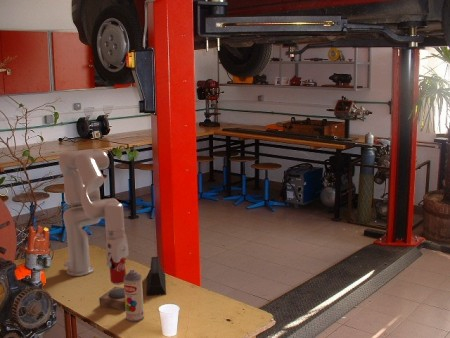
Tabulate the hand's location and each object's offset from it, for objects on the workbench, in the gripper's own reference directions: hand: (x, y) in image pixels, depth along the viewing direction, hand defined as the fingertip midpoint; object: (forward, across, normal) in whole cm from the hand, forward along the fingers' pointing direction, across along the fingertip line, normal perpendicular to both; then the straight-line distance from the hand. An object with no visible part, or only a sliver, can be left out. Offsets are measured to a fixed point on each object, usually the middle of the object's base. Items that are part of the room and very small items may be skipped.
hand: (118, 275), depth 227 cm
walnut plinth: (+12, 0, 0) cm, 12 cm away
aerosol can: (+12, -10, -13) cm, 20 cm away
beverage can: (+3, -1, 0) cm, 3 cm away
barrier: (+13, +22, -5) cm, 26 cm away
